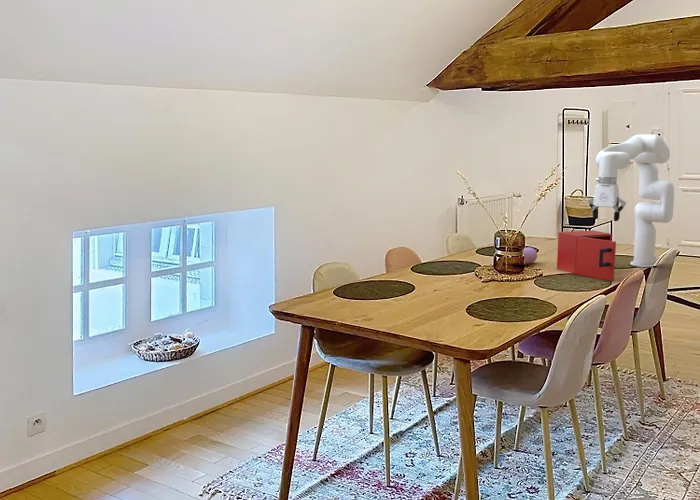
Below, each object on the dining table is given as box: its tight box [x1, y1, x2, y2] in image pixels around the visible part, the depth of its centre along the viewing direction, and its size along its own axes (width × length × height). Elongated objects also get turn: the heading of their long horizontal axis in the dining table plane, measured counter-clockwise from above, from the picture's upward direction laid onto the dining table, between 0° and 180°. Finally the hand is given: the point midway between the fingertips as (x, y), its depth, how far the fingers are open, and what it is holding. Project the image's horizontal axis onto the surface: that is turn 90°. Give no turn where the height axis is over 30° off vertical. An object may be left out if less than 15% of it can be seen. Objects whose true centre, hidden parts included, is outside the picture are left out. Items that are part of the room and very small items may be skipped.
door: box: [574, 237, 617, 282], centre depth 320 cm, size 7×20×18 cm, turn 35°
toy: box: [523, 247, 538, 265], centre depth 356 cm, size 8×9×20 cm
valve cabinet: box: [556, 230, 613, 275], centre depth 341 cm, size 14×20×18 cm
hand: (605, 219), depth 314 cm, fingers open, 9 cm apart
